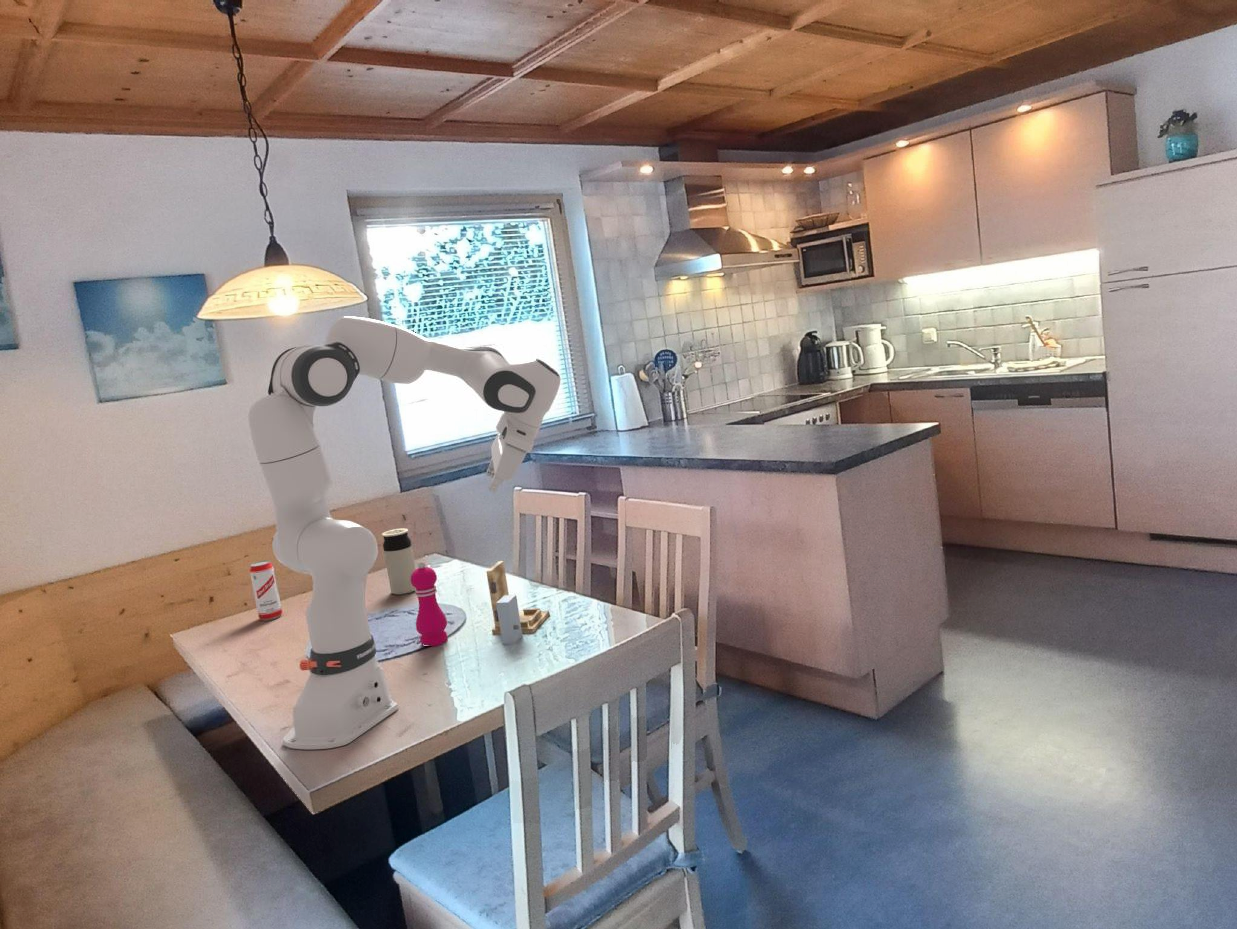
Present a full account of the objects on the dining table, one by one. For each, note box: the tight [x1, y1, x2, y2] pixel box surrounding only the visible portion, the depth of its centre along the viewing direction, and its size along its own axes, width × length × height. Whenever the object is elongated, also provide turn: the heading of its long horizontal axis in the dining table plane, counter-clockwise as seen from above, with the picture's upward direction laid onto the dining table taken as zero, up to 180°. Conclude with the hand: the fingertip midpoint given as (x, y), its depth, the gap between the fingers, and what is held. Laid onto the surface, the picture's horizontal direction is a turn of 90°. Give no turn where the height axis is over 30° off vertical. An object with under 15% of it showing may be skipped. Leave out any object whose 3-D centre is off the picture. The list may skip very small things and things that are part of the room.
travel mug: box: [381, 527, 417, 596], centre depth 243 cm, size 8×8×18 cm
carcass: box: [486, 560, 550, 635], centre depth 201 cm, size 12×10×15 cm
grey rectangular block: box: [496, 594, 523, 645], centre depth 192 cm, size 5×4×10 cm
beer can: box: [249, 560, 283, 622], centre depth 234 cm, size 6×6×16 cm
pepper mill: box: [411, 560, 448, 647], centre depth 196 cm, size 7×7×20 cm
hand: (490, 482), depth 188 cm, fingers open, 8 cm apart
